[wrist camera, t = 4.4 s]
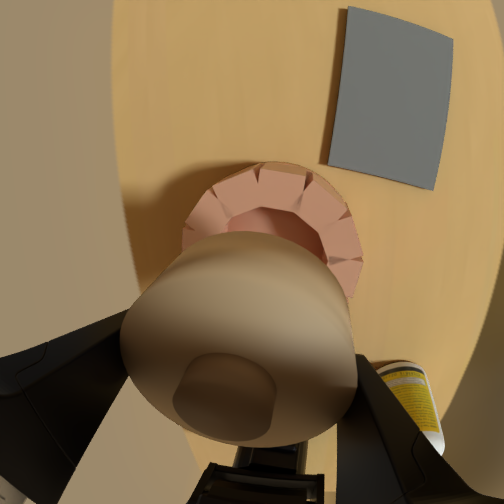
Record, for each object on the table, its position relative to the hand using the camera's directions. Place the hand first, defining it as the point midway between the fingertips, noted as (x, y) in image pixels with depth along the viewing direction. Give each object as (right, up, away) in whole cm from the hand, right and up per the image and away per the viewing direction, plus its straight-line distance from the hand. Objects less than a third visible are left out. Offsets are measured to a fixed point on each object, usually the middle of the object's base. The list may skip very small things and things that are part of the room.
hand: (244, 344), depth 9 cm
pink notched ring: (+2, +4, +8) cm, 9 cm away
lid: (0, 0, +1) cm, 1 cm away
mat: (+8, +11, +4) cm, 14 cm away
